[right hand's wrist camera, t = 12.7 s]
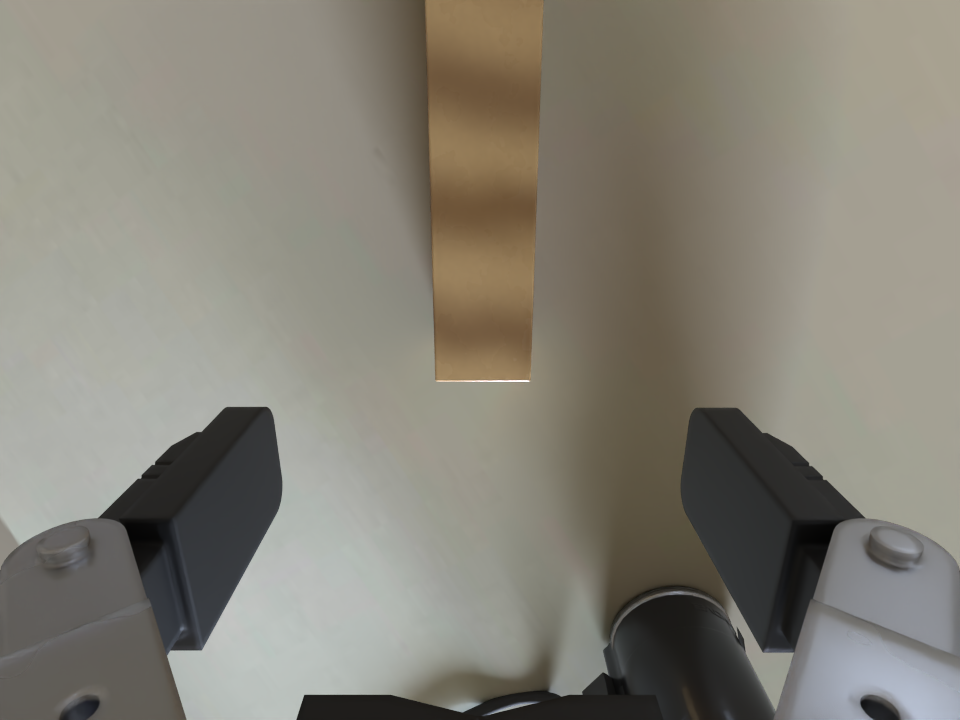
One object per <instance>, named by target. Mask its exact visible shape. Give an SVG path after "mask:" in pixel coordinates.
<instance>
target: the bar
mask: <svg viewBox="0 0 960 720" xmlns="http://www.w3.org/2000/svg"><path fill="white" fill-rule="evenodd" d="M543 3H544V0H425V23H426V59H427V95H428V131H429V167H430V203H431V239H432V275H433V311H434V347H435V380H436V381H530V378H531V349H532V320H533V291H534V263H535V234H536V205H537V176H538V147H539V119H540V90H541V61H542V32H543Z"/></svg>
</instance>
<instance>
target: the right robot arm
mask: <svg viewBox="0 0 960 720" xmlns="http://www.w3.org/2000/svg"><path fill="white" fill-rule="evenodd" d="M281 497H282V475H281V468H280V461H279V453H278V446H277V439H276V432H275V424H274V418H273V415H272V412H271V410H270V409H269V408H268V407H226V408H225V409H223V410H222V411H221V412H220V413H219V415H218V416H217V417H216V418H215V419H214V420H213V421H212V422H211V423H210V424H209V425H208V426H207V427H206V428H205V429H204V430H203V431H202V432H196V433H194V434H192V435H190V436H189V437H187V438H185V439H183V440H181V441H179V442H178V443H176V444H174V445H172V446H171V447H170V448H169V449H168V450H167V451H166V452H165V453H164V454H163V455H162V456H161V457H160V458H159V459H158V460H157V461H156V462H155V465H152V466H151V467H150V468H149V469H147V470H146V471H145V472H144V473H143V474H142V478H141V479H137V480H136V481H135V482H134V483H133V484H132V485H131V486H130V487H129V488H128V489H127V490H126V491H125V492H124V493H123V494H122V495H121V496H120V497H119V498H118V499H117V500H116V501H115V502H114V503H113V504H112V505H111V506H110V507H109V508H108V509H107V510H106V511H105V512H104V513H103V514H102V515H101V516H100V517H99V518H95V519H84V520H79V521H74V522H70V523H66V524H63V525H60V526H57V527H54V528H51V529H49V530H47V531H44V532H42V533H40V534H38V535H36V536H34V537H32V538H31V539H29V540H27V541H26V542H24V543H23V544H21V545H20V546H19V547H17V548H16V549H15V550H14V551H13V552H12V553H11V554H10V555H9V556H8V557H7V558H6V559H5V561H4V562H3V564H2V566H1V570H0V720H186V717H185V713H184V710H183V707H182V704H181V700H180V697H179V694H178V691H177V687H176V684H175V681H174V678H173V674H172V671H171V668H170V665H169V661H168V658H167V655H168V653H169V652H170V650H202V649H203V647H204V645H205V643H206V642H207V640H208V638H209V636H210V634H211V632H212V631H213V629H214V627H215V625H216V623H217V621H218V620H219V618H220V616H221V614H222V612H223V610H224V609H225V607H226V605H227V603H228V601H229V599H230V598H231V596H232V594H233V592H234V590H235V589H236V587H237V585H238V583H239V581H240V579H241V578H242V576H243V574H244V572H245V570H246V568H247V567H248V565H249V563H250V561H251V559H252V557H253V556H254V554H255V552H256V550H257V548H258V547H259V545H260V543H261V541H262V539H263V537H264V536H265V534H266V532H267V530H268V528H269V526H270V525H271V523H272V521H273V519H274V517H275V515H276V514H277V512H278V509H279V506H280V502H281ZM681 497H682V503H683V507H684V510H685V512H686V515H687V516H688V518H689V520H690V522H691V524H692V525H693V527H694V529H695V531H696V533H697V534H698V536H699V538H700V540H701V542H702V543H703V545H704V547H705V549H706V551H707V552H708V554H709V556H710V558H711V560H712V561H713V563H714V565H715V567H716V569H717V570H718V572H719V574H720V576H721V578H722V580H723V581H724V583H725V585H726V587H727V589H728V590H729V592H730V594H731V596H732V598H733V599H734V601H735V603H736V605H737V607H738V608H739V610H740V612H741V614H742V616H743V617H744V619H745V621H746V623H747V625H748V626H749V628H750V630H751V632H752V634H753V635H754V637H755V639H756V641H757V643H758V644H759V646H760V648H761V650H762V652H794V655H793V658H792V661H791V665H790V668H789V671H788V674H787V678H786V681H785V684H784V687H783V691H782V694H781V697H780V700H779V704H778V707H777V710H776V711H775V709H774V707H773V705H772V703H771V701H770V699H769V698H768V696H767V694H766V692H765V690H764V688H763V686H762V684H761V682H760V680H759V678H758V676H757V674H756V672H755V671H754V669H753V667H752V665H751V663H750V661H749V659H748V657H747V655H746V653H745V645H744V639H743V637H742V635H741V633H740V631H739V629H738V628H737V631H738V637H737V636H736V632H735V630H734V628H733V627H732V625H731V622H730V619H729V617H728V615H727V614H726V612H725V610H724V608H723V607H722V605H721V604H720V603H719V602H718V601H717V600H716V599H714V598H713V597H712V596H710V595H708V594H707V593H704V592H702V591H700V590H697V589H693V588H687V587H665V588H659V589H655V590H652V591H649V592H646V593H644V594H642V595H640V596H638V597H636V598H635V599H633V600H632V601H630V602H629V603H628V604H627V605H626V606H624V607H623V609H622V610H621V611H620V612H619V613H618V615H617V616H616V618H615V620H614V622H613V624H612V627H611V631H610V644H609V645H608V646H607V647H606V648H605V649H604V650H603V653H604V657H605V661H606V665H607V669H608V674H609V676H608V675H607V674H605V673H602V674H601V675H600V676H599V677H597V678H596V679H595V680H594V681H593V682H592V683H591V684H590V685H589V686H588V687H587V688H586V689H585V690H584V691H582V693H583V695H567V696H563V697H561V696H559V695H557V694H554V693H550V692H546V691H533V692H524V693H517V694H511V695H507V696H502V697H498V698H494V699H492V700H489V701H487V702H485V703H482V704H480V705H478V706H476V707H474V708H472V709H469V710H467V711H465V712H463V713H461V712H457V711H453V710H449V709H445V708H441V707H437V706H433V705H429V704H425V703H421V702H417V701H413V700H409V699H405V698H401V697H397V696H393V695H304V698H303V701H302V704H301V707H300V710H299V714H298V717H297V720H960V570H959V566H958V564H957V562H956V561H955V559H954V558H953V557H952V556H951V554H949V553H948V552H947V551H946V550H945V549H944V548H943V547H941V546H940V545H939V544H937V543H936V542H934V541H933V540H931V539H929V538H928V537H926V536H924V535H922V534H920V533H918V532H916V531H913V530H911V529H909V528H906V527H903V526H900V525H897V524H894V523H890V522H886V521H881V520H876V519H866V518H865V517H864V516H863V515H862V514H861V513H860V512H859V511H858V510H857V509H855V508H854V507H853V506H852V505H851V504H850V503H849V502H848V501H847V500H846V499H845V498H844V497H843V496H842V495H841V494H840V493H839V492H838V491H837V490H836V489H835V488H834V487H833V486H832V485H831V484H830V483H829V482H828V481H827V480H823V476H822V475H821V474H820V473H819V472H818V471H817V470H816V469H815V468H813V467H812V466H809V463H808V462H807V461H806V460H805V459H804V458H803V457H802V456H801V455H800V454H799V453H798V452H797V451H796V450H795V449H794V448H793V447H792V446H790V445H788V444H786V443H784V442H782V441H781V440H779V439H777V438H775V437H773V436H771V435H770V434H768V433H762V432H761V431H760V430H759V429H758V428H757V427H756V426H755V425H754V424H753V423H752V422H751V421H750V420H749V419H748V418H747V417H746V416H745V415H744V414H743V413H742V412H741V411H740V410H739V409H738V408H695V409H694V410H693V412H692V414H691V416H690V420H689V427H688V434H687V441H686V448H685V455H684V462H683V469H682V476H681ZM528 703H535V704H531V705H527V706H523V707H519V708H515V709H511V710H507V711H503V712H499V713H495V714H492V713H494V712H497V711H499V710H502V709H505V708H508V707H511V706H515V705H520V704H528ZM490 714H491V715H490Z"/></svg>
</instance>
